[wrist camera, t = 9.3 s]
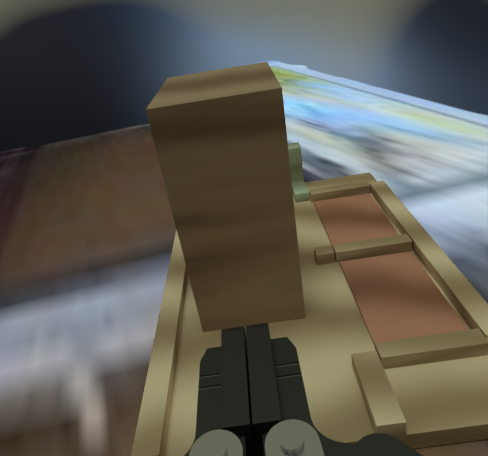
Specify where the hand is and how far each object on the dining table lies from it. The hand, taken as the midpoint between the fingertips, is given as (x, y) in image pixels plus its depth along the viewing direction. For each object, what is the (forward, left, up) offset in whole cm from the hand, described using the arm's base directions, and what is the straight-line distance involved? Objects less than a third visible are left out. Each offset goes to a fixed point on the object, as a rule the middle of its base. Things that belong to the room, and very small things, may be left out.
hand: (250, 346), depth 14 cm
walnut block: (-8, +10, -7) cm, 15 cm away
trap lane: (-6, +14, -8) cm, 17 cm away
